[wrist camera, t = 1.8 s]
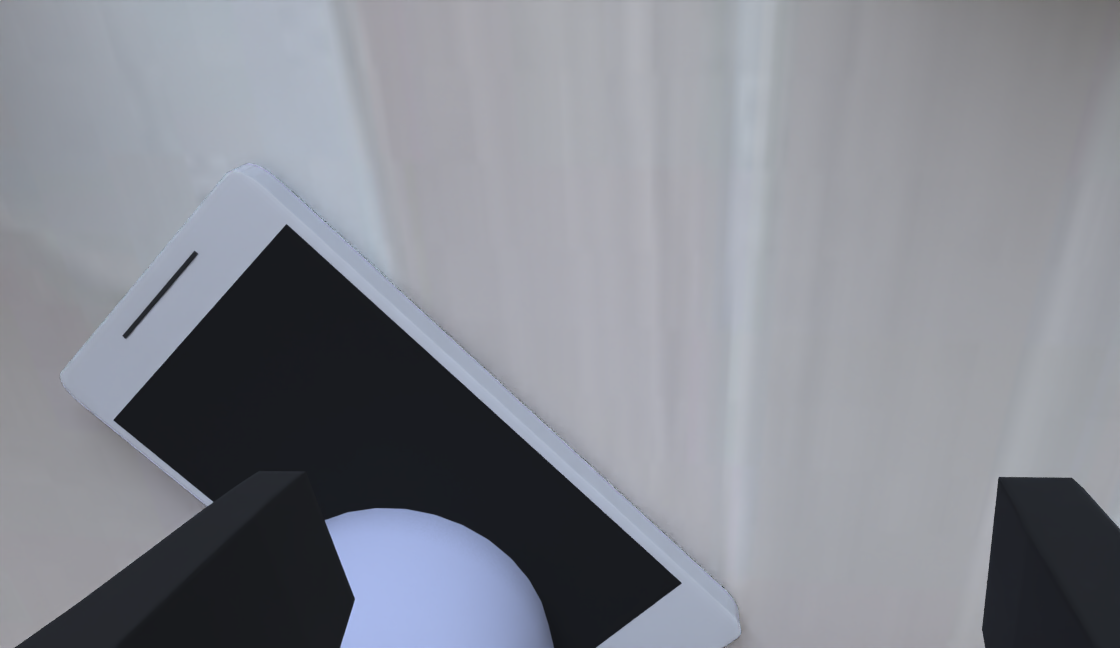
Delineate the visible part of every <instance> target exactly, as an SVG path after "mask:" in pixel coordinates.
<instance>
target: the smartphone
mask: <svg viewBox="0 0 1120 648" xmlns="http://www.w3.org/2000/svg"><path fill="white" fill-rule="evenodd" d="M60 380H61V382H62V385H63V386H64V387H65V389H66V390H67V391H68V393H69V394H70V395H71V396H72V397H73V398H74V399H76V400H77V401H78V402H79V403H80V404H81V405H83V406H84V407H85V408H86V409H87V410H89V411H90V412H91V413H92V414H94V415H95V416H96V417H97V418H99V419H100V420H101V421H102V422H103V423H105V424H106V425H107V426H108V427H110V428H111V429H112V430H113V431H115V432H116V433H117V434H118V435H119V436H121V437H122V438H123V439H124V440H126V441H127V442H128V443H129V444H131V445H132V446H133V447H134V448H135V449H137V450H138V451H139V452H140V453H142V454H143V455H144V456H145V457H146V458H148V459H149V460H150V461H151V462H153V463H154V464H155V465H156V466H158V467H159V468H160V469H161V470H162V471H164V472H165V473H166V474H167V475H169V476H170V477H171V478H172V479H174V480H175V481H176V482H177V483H178V484H180V485H181V486H182V487H183V488H185V489H186V490H187V491H188V492H190V493H191V494H192V495H193V496H194V497H196V498H197V499H198V500H199V501H201V502H202V503H203V504H204V505H206V506H209V505H210V504H212V503H213V502H214V501H216V500H217V499H218V498H220V497H221V496H223V495H224V494H225V493H227V492H228V491H230V490H231V489H233V488H234V487H235V486H237V485H238V484H240V483H241V482H243V481H244V480H246V479H247V478H249V477H251V476H252V475H254V474H255V473H257V472H258V471H303V472H306V473H307V476H308V478H309V481H310V484H311V486H312V489H313V491H314V494H315V497H316V499H317V502H318V504H319V507H320V509H321V512H322V515H323V517H324V520H327V519H330V518H333V517H336V516H339V515H341V514H344V513H347V512H353V511H360V510H367V509H373V508H389V509H408V510H413V511H418V512H423V513H428V514H434V515H437V516H439V517H442V518H445V519H448V520H450V521H453V522H456V523H458V524H461V525H463V526H465V527H467V528H469V529H470V530H472V531H474V532H476V533H477V534H479V535H481V536H483V537H484V538H486V539H488V540H489V541H491V542H492V543H493V544H494V545H495V546H497V547H498V548H499V549H500V550H502V551H503V552H504V553H505V554H506V555H508V556H509V557H510V558H511V559H512V560H513V561H514V562H515V564H516V565H517V566H518V567H519V568H520V570H521V571H522V572H523V573H524V574H525V575H526V577H527V578H528V579H529V581H530V582H531V584H532V586H533V588H534V590H535V591H536V593H537V595H538V597H539V599H540V600H541V602H542V605H543V609H544V612H545V615H546V619H547V622H548V625H549V629H550V634H551V638H552V642H553V646H554V648H724V647H725V646H727V645H728V644H730V643H731V642H732V641H734V640H735V639H737V638H738V637H739V636H740V634H741V628H740V621H739V614H738V607H737V604H736V602H735V601H734V599H733V597H732V596H731V595H730V594H729V593H728V592H727V591H726V590H725V589H724V588H723V587H722V586H721V585H720V584H718V583H717V582H716V581H715V580H714V579H713V578H712V577H711V576H710V575H709V574H708V573H707V572H705V571H704V570H703V569H702V568H701V567H700V566H699V565H698V564H697V563H696V562H695V561H693V560H692V559H691V558H690V557H689V556H688V555H687V554H686V553H685V552H684V551H683V550H681V549H680V548H679V547H678V546H677V545H676V544H675V543H674V542H673V541H672V540H671V539H670V538H668V537H667V536H666V535H665V534H664V533H663V532H662V531H661V530H660V529H659V528H658V527H656V526H655V525H654V524H653V523H652V522H651V521H650V520H649V519H648V518H647V517H646V516H644V515H643V514H642V513H641V512H640V511H639V510H638V509H637V508H636V507H635V506H634V505H632V504H631V503H630V502H629V501H628V500H627V499H626V498H625V497H624V496H623V495H622V494H621V493H619V492H618V491H617V490H616V489H615V488H614V487H613V486H612V485H611V484H610V483H609V482H607V481H606V480H605V479H604V478H603V477H602V476H601V475H600V474H599V473H598V472H597V471H595V470H594V469H593V468H592V467H591V466H590V465H589V464H588V463H587V462H586V461H585V460H584V459H582V458H581V457H580V456H579V455H578V454H577V453H576V452H575V451H574V450H573V449H572V448H570V447H569V446H568V445H567V444H566V443H565V442H564V441H563V440H562V439H561V438H560V437H558V436H557V435H556V434H555V433H554V432H553V431H552V430H551V429H550V428H549V427H548V426H546V425H545V424H544V423H543V422H542V421H541V420H540V419H539V418H538V417H537V416H536V415H535V414H533V413H532V412H531V411H530V410H529V409H528V408H527V407H526V406H525V405H524V404H523V403H521V402H520V401H519V400H518V399H517V398H516V397H515V396H514V395H513V394H512V393H511V392H509V391H508V390H507V389H506V388H505V387H504V386H503V385H502V384H501V383H500V382H499V381H498V380H496V379H495V378H494V377H493V376H492V375H491V374H490V373H489V372H488V371H487V370H486V369H484V368H483V367H482V366H481V365H480V364H479V363H478V362H477V361H476V360H475V359H474V358H472V357H471V356H470V355H469V354H468V353H467V352H466V351H465V350H464V349H463V348H462V347H460V346H459V345H458V344H457V343H456V342H455V341H454V340H453V339H452V338H451V337H450V336H449V335H447V334H446V333H445V332H444V331H443V330H442V329H441V328H440V327H439V326H438V325H437V324H435V323H434V322H433V321H432V320H431V319H430V318H429V317H428V316H427V315H426V314H425V313H423V312H422V311H421V310H420V309H419V308H418V307H417V306H416V305H415V304H414V303H413V302H412V301H410V300H409V299H408V298H407V297H406V296H405V295H404V294H403V293H402V292H401V291H400V290H398V289H397V288H396V287H395V286H394V285H393V284H392V283H391V282H390V281H389V280H388V279H386V278H385V277H384V276H383V275H382V274H381V273H380V272H379V271H378V270H377V269H376V268H374V267H373V266H372V265H371V264H370V263H369V262H368V261H367V260H366V259H365V258H364V257H363V256H361V255H360V254H359V253H358V252H357V251H356V250H355V249H354V248H353V247H352V246H351V245H349V244H348V243H347V242H346V241H345V240H344V239H343V238H342V237H341V236H340V235H339V234H337V233H336V232H335V231H334V230H333V229H332V228H331V227H330V226H329V225H328V224H327V223H325V222H324V221H323V220H322V219H321V218H320V217H319V216H318V215H317V214H316V213H315V212H314V211H312V210H311V209H310V208H309V207H308V206H307V205H306V204H305V203H304V202H303V201H302V200H300V199H299V198H298V197H297V196H296V195H295V194H294V193H293V192H292V191H291V190H290V189H288V188H287V187H286V186H285V185H284V184H283V183H282V182H281V181H280V180H279V179H278V178H276V177H275V176H274V175H273V174H271V173H270V172H269V171H267V170H266V169H264V168H262V167H260V166H258V165H255V164H250V163H247V164H245V165H243V166H240V167H238V168H236V169H234V170H231V171H229V172H227V173H226V174H225V175H224V177H223V178H222V179H221V180H220V181H219V183H218V184H217V185H216V186H215V188H214V189H213V190H212V191H211V192H210V194H209V195H208V196H207V197H206V198H205V200H204V201H203V202H202V203H201V204H200V206H199V207H198V208H197V209H196V210H195V212H194V213H193V214H192V215H191V216H190V218H189V219H188V220H187V221H186V222H185V224H184V225H183V226H182V227H181V228H180V230H179V231H178V232H177V233H176V234H175V236H174V237H173V238H172V239H171V240H170V242H169V243H168V244H167V245H166V246H165V248H164V249H163V250H162V251H161V253H160V254H159V255H158V256H157V257H156V259H155V260H154V261H153V262H152V263H151V265H150V266H149V267H148V268H147V269H146V271H145V272H144V273H143V274H142V275H141V277H140V278H139V279H138V280H137V281H136V283H135V284H134V285H133V286H132V287H131V289H130V290H129V291H128V292H127V293H126V295H125V296H124V297H123V298H122V299H121V301H120V302H119V303H118V304H117V305H116V307H115V308H114V309H113V310H112V312H111V313H110V314H109V315H108V316H107V318H106V319H105V320H104V321H103V322H102V324H101V325H100V326H99V327H98V328H97V330H96V331H95V332H94V333H93V334H92V336H91V337H90V338H89V339H88V340H87V342H86V343H85V344H84V345H83V346H82V348H81V349H80V350H79V351H78V352H77V354H76V355H75V356H74V357H73V358H72V360H71V361H70V362H69V363H68V364H67V366H66V367H65V368H64V369H63V370H62V372H61V373H60Z"/></svg>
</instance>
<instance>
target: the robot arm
mask: <svg viewBox="0 0 1120 648" xmlns="http://www.w3.org/2000/svg"><path fill="white" fill-rule="evenodd" d="M982 631H983V637H984V643H985V648H1120V529H1119V528H1118V527H1117V525H1116V524H1115V523H1114V522H1113V521H1112V520H1111V519H1110V518H1109V516H1108V515H1107V514H1106V513H1105V512H1104V511H1103V510H1102V509H1101V507H1100V506H1099V505H1098V504H1097V503H1096V502H1095V501H1094V500H1093V499H1092V497H1091V496H1090V495H1089V494H1088V493H1087V492H1086V491H1085V490H1084V488H1083V487H1081V486H1080V485H1079V484H1078V483H1077V482H1076V481H1075V480H1074V479H1073V478H1032V477H999V479H998V488H997V498H996V507H995V516H994V525H993V534H992V544H991V553H990V562H989V571H988V580H987V589H986V599H985V608H984V617H983V626H982ZM15 648H554V646H553V642H552V638H551V634H550V629H549V625H548V622H547V619H546V615H545V612H544V609H543V605H542V602H541V600H540V599H539V597H538V595H537V593H536V591H535V590H534V588H533V586H532V584H531V582H530V581H529V579H528V578H527V577H526V575H525V574H524V573H523V572H522V571H521V570H520V568H519V567H518V566H517V565H516V564H515V562H514V561H513V560H512V559H511V558H510V557H509V556H508V555H506V554H505V553H504V552H503V551H502V550H500V549H499V548H498V547H497V546H495V545H494V544H493V543H492V542H491V541H489V540H488V539H486V538H484V537H483V536H481V535H479V534H477V533H476V532H474V531H472V530H470V529H469V528H467V527H465V526H463V525H461V524H458V523H456V522H453V521H450V520H448V519H445V518H442V517H439V516H437V515H434V514H428V513H423V512H418V511H413V510H408V509H389V508H373V509H367V510H360V511H353V512H347V513H344V514H341V515H339V516H336V517H333V518H330V519H327V520H324V517H323V515H322V512H321V509H320V507H319V504H318V502H317V499H316V497H315V494H314V491H313V489H312V486H311V484H310V481H309V478H308V476H307V473H306V472H303V471H258V472H257V473H255V474H254V475H252V476H251V477H249V478H247V479H246V480H244V481H243V482H241V483H240V484H238V485H237V486H235V487H234V488H233V489H231V490H230V491H228V492H227V493H225V494H224V495H223V496H221V497H220V498H218V499H217V500H216V501H214V502H213V503H212V504H210V505H209V506H207V507H206V508H205V509H203V510H202V511H201V512H199V513H198V514H197V515H195V516H194V517H193V518H191V519H190V520H189V521H187V522H186V523H185V524H183V525H182V526H181V527H179V528H178V529H177V530H175V531H174V532H173V533H171V534H170V535H169V536H167V537H166V538H165V539H163V540H162V541H161V542H159V543H158V544H157V545H155V546H154V547H153V548H151V549H150V550H149V551H147V552H146V553H145V554H143V555H142V556H141V557H139V558H138V559H137V560H135V561H134V562H133V563H131V564H130V565H129V566H127V567H126V568H125V569H123V570H122V571H121V572H119V573H118V574H117V575H115V576H114V577H113V578H111V579H110V580H108V581H107V582H106V583H104V584H103V585H102V586H100V587H99V588H98V589H96V590H95V591H94V592H92V593H91V594H90V595H88V596H87V597H86V598H84V599H83V600H82V601H80V602H79V603H78V604H76V605H75V606H73V607H72V608H71V609H69V610H68V611H66V612H65V613H63V614H62V615H61V616H59V617H58V618H56V619H55V620H53V621H52V622H51V623H49V624H48V625H46V626H45V627H43V628H42V629H41V630H39V631H38V632H36V633H35V634H33V635H32V636H31V637H29V638H28V639H26V640H25V641H23V642H22V643H21V644H19V645H18V646H16V647H15Z"/></svg>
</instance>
